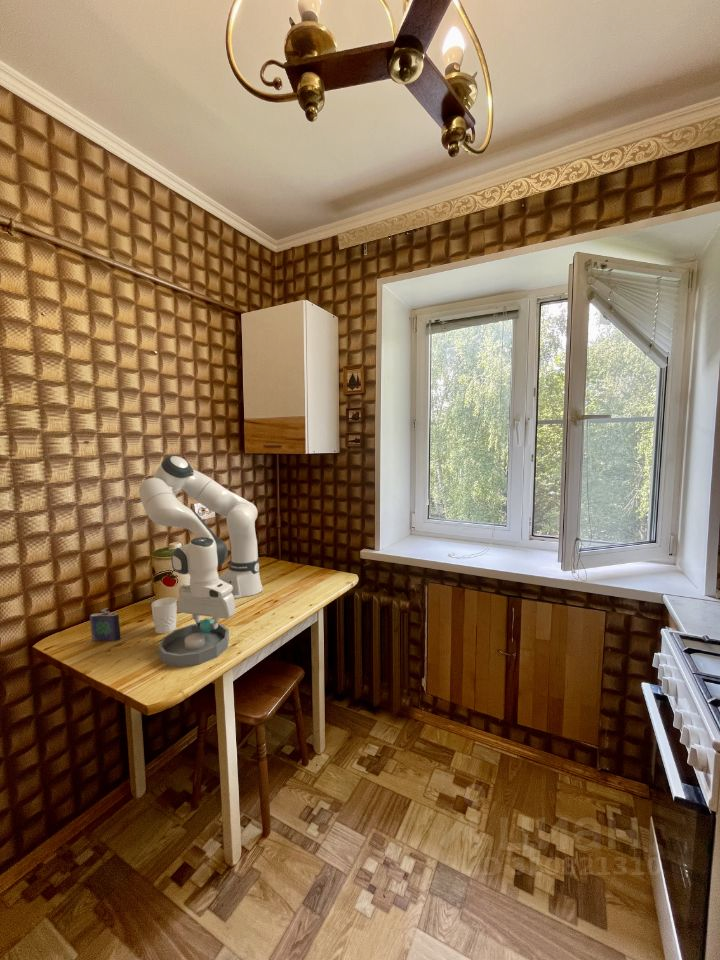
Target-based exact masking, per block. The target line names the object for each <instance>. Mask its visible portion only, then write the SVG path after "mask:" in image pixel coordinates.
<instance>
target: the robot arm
mask: <svg viewBox="0 0 720 960" xmlns="http://www.w3.org/2000/svg"><path fill="white" fill-rule="evenodd" d="M180 491H182V492H184V493H186V494H187V495H188V496H189V497H190V498H191V499H193V500H195V501H196V502H198V503H199V504H200V505H202V506H203V507H205V508H206V509H208V510H209V511H211V512H214V513H217V514H218V515H220V516H223V517H225V518H226V525H227V530H228V537H229V539H230V540H229V541H230V551H231V553H230V554H231V555H230V556H231V559H230V560H229V561H228V562H226V566H228V568H227V569H225V571H224V572H222V573H221V574H220V575H219V572H218V567H221V566H223V564H224V563H225V561H226V559H228V558H227V557H228V555H229V551H228V547H227V544H226V543H225V542H224V541H223V540H222V539H221V538H219V537H218V536H217V535H216V534H215V533H214V531H212V529H211V528H210V527H209V526H208V524H207V523H206V522H205V521H204V520H203V519H202V517H201V516H200V515H199V514H198V513H197V512H196V511H195V509H192V508H191V507H188V506H186V505H185V504H183V503H182V502H180V500H179V499H178V498H177V495H178V494H179V492H180ZM138 494H139V498H140V502H141V504H142V506H143V508H144V511H145V512H146V515H147V516H148V518H149V519H150V520H151V521H152V523H154V524H156V525H158V526H162V527H163V526H164V527H175V528H180V529H181V528H182V529H186V530H189V531H190V532H191V533H192V534H193V535H194V536H195V538H193V539H190V540H189V542H188V543H187V544H184V545H180V546H178V547H176V548H175V549H174V551H173V552H172V554H171V556H170V557H171V566H172V569H173V571H175V572H177V573H178V574H181V575H189V584H181V586H179V587H178V598H177V611H178V612H179V613H181V614H188V615H192V616H191V617H192V619H193V620H194V622H195V624H196V626H197V627H200V623H201V622H202V621H203V620H204V619H202V618H201V617H202V616H203V617H210V618H211V617H212V620H213V623H212V624H211V629H216V628H218V624H219V622H220V619H223V620H224V619H226V620H229V619H230V618H232V617H233V616H234V615H235V613H236V601H235V600H236V599H240V598H244V597H251V596H254V595H257V594H259V593H260V592H262V591H263V590H264V587H263V584H262V581H261V580H262V579H261V575H260V558H259V553H258V552H259V551H258V550H259V549H258V539H257V534H256V527H255V526H256V523H255V522H256V520H257V518H258V514H259V513H258V512H259V511H258V508H257V507H256V505H255V504H254V503H253V502H250V501H249V500H247V499H245V498H243V497H241V496H240V495H238V494H236V493H234V492H232V491H230V490H229V489H227V488H225V487H224V486H222V484H220V483H218V482H217V481H216V480H214V479H212V478H211V477H210V476H208V475H206V474H204V473H202V472H200V471H198V470H196V469H193V468H192V466H191V464H190V462H189V461H187V460H186V459H185V458H184V457H182V456H179V455H174V454H173V455H168V456H166V457H165V459H163V460H162V461H161V464H160V465H159V466H158V468H157V469H156V471H155V472H154V474H153V477H150V478H147V479H145V480H143V482H141V484H140V485H139V487H138Z"/></svg>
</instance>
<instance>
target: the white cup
mask: <svg viewBox="0 0 720 960" xmlns="http://www.w3.org/2000/svg"><path fill="white" fill-rule="evenodd" d="M151 613H152V621H153V625H154V632H155V633H156V634H160V635H163V634H169V633H171V632H173V631H174V630H177V616H178V615H177V613H178V599H177V598H175V597H163V598H162V597H161V598H159V599H156V600H154V601H152V603H151Z"/></svg>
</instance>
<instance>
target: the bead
mask: <svg viewBox="0 0 720 960" xmlns="http://www.w3.org/2000/svg"><path fill="white" fill-rule="evenodd" d="M202 620H203V621H202V622H201V623H200V630H201V631H202V632H203V633H209V632H210V631H212V630H213V629H211V624H212V623H213V622H214V620H213V619H212V618H205V619H202Z"/></svg>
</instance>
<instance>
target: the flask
mask: <svg viewBox="0 0 720 960" xmlns="http://www.w3.org/2000/svg"><path fill="white" fill-rule="evenodd" d="M89 621H90V631H91V641H92V642H96V643H97V642H101V643H102V642H104V643H105V642H118V641H120V640H121V638H122V637H121V629H120V618H119V613H118V612H114V611H112V612H111V611H109V610H108V607H105V608H103V609H101V610H100V612H99V613H98V612H97V613H92V614H91V615H89Z"/></svg>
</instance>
